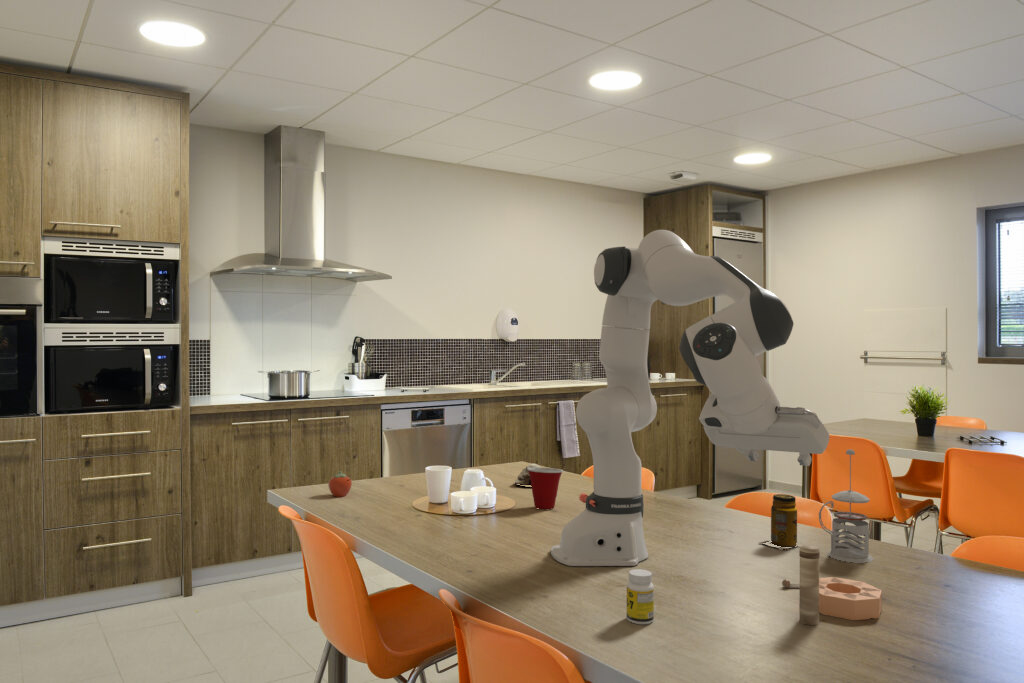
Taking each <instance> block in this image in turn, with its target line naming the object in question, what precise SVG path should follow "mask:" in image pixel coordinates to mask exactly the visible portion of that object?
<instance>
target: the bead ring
mask: <svg viewBox="0 0 1024 683" xmlns="http://www.w3.org/2000/svg"><path fill="white" fill-rule="evenodd" d="M882 609H883V591H882V590H881V589H879V588H878V587H875V586H873V585H871V584H868V583H866V582H865V581H861V580H855V579H854V580H853V579H848V578H842V577H836V576H835V577H834V576H831V577H830V576H829V577H827V576H826V577H819V614H822V615H824V616H829V615H830V617H834V616H835V618H840V619H845V620H846V619H847V620H851V621H860V620H861V621H862V620H871V619H870V618H874V619H880V617H881V614H880V613H882V611H883V610H882ZM879 616H880V617H879Z"/></svg>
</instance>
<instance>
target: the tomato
mask: <svg viewBox="0 0 1024 683" xmlns="http://www.w3.org/2000/svg"><path fill="white" fill-rule="evenodd" d="M352 484H353V481H352V479H351V478H350V477H349V476H347V474H345V473H343V472H342V470H339V471H338V473H336V474H334V475H333V477H331V478H330V479H329V481H328V489H329V492H330V493H331V494H332V496H333V497H335V498H344V497H346V496H347V495H348V494H349V493H350V491H351V489H352V486H353V485H352Z"/></svg>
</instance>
